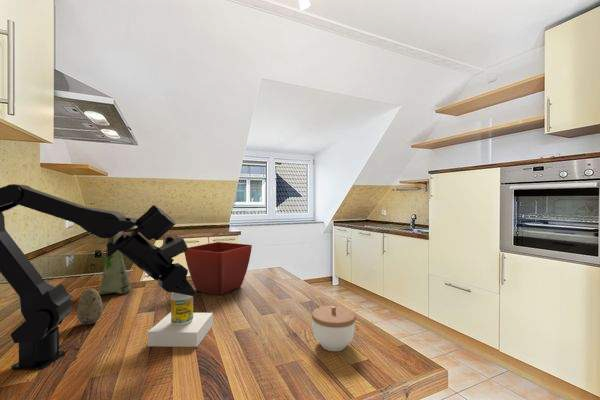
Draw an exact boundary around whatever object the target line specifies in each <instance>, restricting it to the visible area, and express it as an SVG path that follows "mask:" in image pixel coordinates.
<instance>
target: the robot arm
mask: <svg viewBox="0 0 600 400" xmlns="http://www.w3.org/2000/svg"><path fill="white" fill-rule="evenodd" d="M18 206H21V207H25V208H28V209H30V210H33V211H37V212H40V213H43V214H46V215H50V216H52V217H56V218H58V219H61V220H65V221H68V222H71V223H74V224H75V225H77V226H79V227H80V228H81V229H83V230H84V231H86V232H87V233H90V234H92V235H94V236H96V237H98V238H101V239H109V238H111V237H113V236H116V235H118V237H119V238H118V239H117V240H115V241H113V242H108V241H107V242H106V250H107V254H106V257H107V256H108V257H110V256H111V255H112V254H114V253H115V252H116V251H118V252H120V253H121V254H122V256H123V257H125V258H126V259H127V260H129V261H130V262H131V263H133V264H134V265H135V266H137V268H139V269H140V270H141V271H143V272H144V273H145V274H146V275H148V276H149V277H150V278H152V279H153V280H155V281H157V282H158V286H160V288H161V289H163V290H164V291H165V292H166V293H172V294H173V293H179V294H184V295H189V296H193V297H194V296H195V295H196V293H197V292H196V291H195V290H196V289H195V288H194V287H193V286H192V285H191V284H190V282H189V281H188V279H187V276H188V274H189V270H188V268H186V267H185V266H184V265H182V264H180V263H179V262H177V263H176V262H175V263H173V262H174V261H175V260H174V258H175V257H177V256H179V255H181V254H182V253H184V252H186V251H187V250H188V245H187V243H186V241H185V239H184V238H183V237H175V238H174V237H172V236H170V235H168V236H167V237H165V238H163V244H162V245H161V246H157V245H153V244H152V243H151V242H150V241H152V240H156V241H158V240H160V239H161V238H162V237H163V236H164V235H165V234H166V233H168V231H170V230H171V229H172V228H173V227H174V226H176V224H177V223H176V222H175V220H174V219H173V218H172V217H171V216H170V215H169V214H168V213H167V212H165V211H163V210H162V209H161V208H159V207H158V206H157V205H156V204H155V205H154V204H152V205H151V206H150V207H149V208H148V210H147V211H146V212H145V213H143V214H142V215H141V216H140V217H138V218H136V217H133V218H132V217H126V216H125V215H124V214H123V213H121V212H119V211H113V210H109V209H103V208H95V207H88V206H84V205H82V204H79V203H76V202H73V201H70V200H68V199H64V198H61V197H58V196H55V195H52V194H49V193H45V192H44V191H40V190H39V189H38V190H37V189H34V188H32V187H31V186H29V185H28V184H27V185H25V184H15V183H14V184H8V185H6V186H3V187H0V274H1V275H2V276H3V278H4V279H5V280H6V281H7V283H8V284H9V286H10V287H11V288H12V289H13V291H14V292H15V293H16V294H17V296H18V297H19V305H20V313H21V316H22V317H23V319H24V322H22V323H21V324H20V325H19V326H18V327H17V328H16V329H14V330H13V331H12V332H11V333H10V337H11V339H12V341H13V343H14V344H18V361H17V362H16V363H14V364H13V365H11V366H10V369H11V370H42V369H44V368H45V367H47V366H48V365H50V364H51V363H52V362H54V361H56V360H57V359H60V358H61V357H62V356H64V355H65V354H66V350H60V332H59V331H60V330H59V329H60V328H59V326H60V325H61V324H62V323H63V322H64V319H65V318H67V316H68V315H70V313H71V311H72V308H73V305H74V304H73V301H72V298H73V297H74V296H73V295H71V293H70V294H69V292H67V290H66V287H65V285H63V283H59V284H57V285H55V286H54V285H52V284H50V283H48V282H46V280H44V278H43V277H42V275H41V274H40V273H39V272H38V270H37V269H36V268H35V266H34V265H33V264H32V262H31V261H30V260H29V258H28V257H27V256H26V255H25V253H24V252H23V251H22V249H21V248H20V246H18V244H17V243H16V242H15V240H14V239H13V237H12V236H11V235H10V234H9V232H8V231H7V230H6V225H5V224H6V223H5V215H4V213H3V212H7V211H9V210H11V209H13V208H16V207H18ZM132 229H133V230H132ZM130 230H132V231H131V232H129V233H124V232H126V231H130ZM119 235H120V236H119Z"/></svg>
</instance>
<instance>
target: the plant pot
mask: <svg viewBox="0 0 600 400" xmlns="http://www.w3.org/2000/svg"><path fill="white" fill-rule="evenodd" d="M187 247H188V246H187ZM252 247H253V245H252V244H245V243H235V242H223V241H216V242H211V243H205V244H200V245H199V244H198V245H194V246H189V247H188V250H187V251H186V252H183V253H184V257H185V261H186V266H187V270H188V274H189V276H190V278H191V281H192V283H193V286H194V289H195V290H196V291H198V292H202V293H206V294H207V293H208V294H211V295H217V296H221V295H224V294H226V293H229V292H231V291H233V290H236V289H238V288H241V287H242V285H243V283H244V280H245V277H246V274H247V271H248V268H249V264H250V260H251V254H252V253H251V252H252Z"/></svg>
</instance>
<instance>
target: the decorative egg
mask: <svg viewBox="0 0 600 400" xmlns="http://www.w3.org/2000/svg"><path fill="white" fill-rule="evenodd" d="M103 310H104V305H103V301H102V297H101V296H100V295H99V291H97V290H96V289H95V288H92V287H90V288H87V289H86V290H85V291H84V292H83V293H82V295H81V296H80V299H79V302H78V304H77V309H76V316H77V320H78V321H79V323H81V324H84V325H92V324H94V323H96V322H97V321H99V319H100V318H101V317H102V314H103V312H104V311H103Z"/></svg>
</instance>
